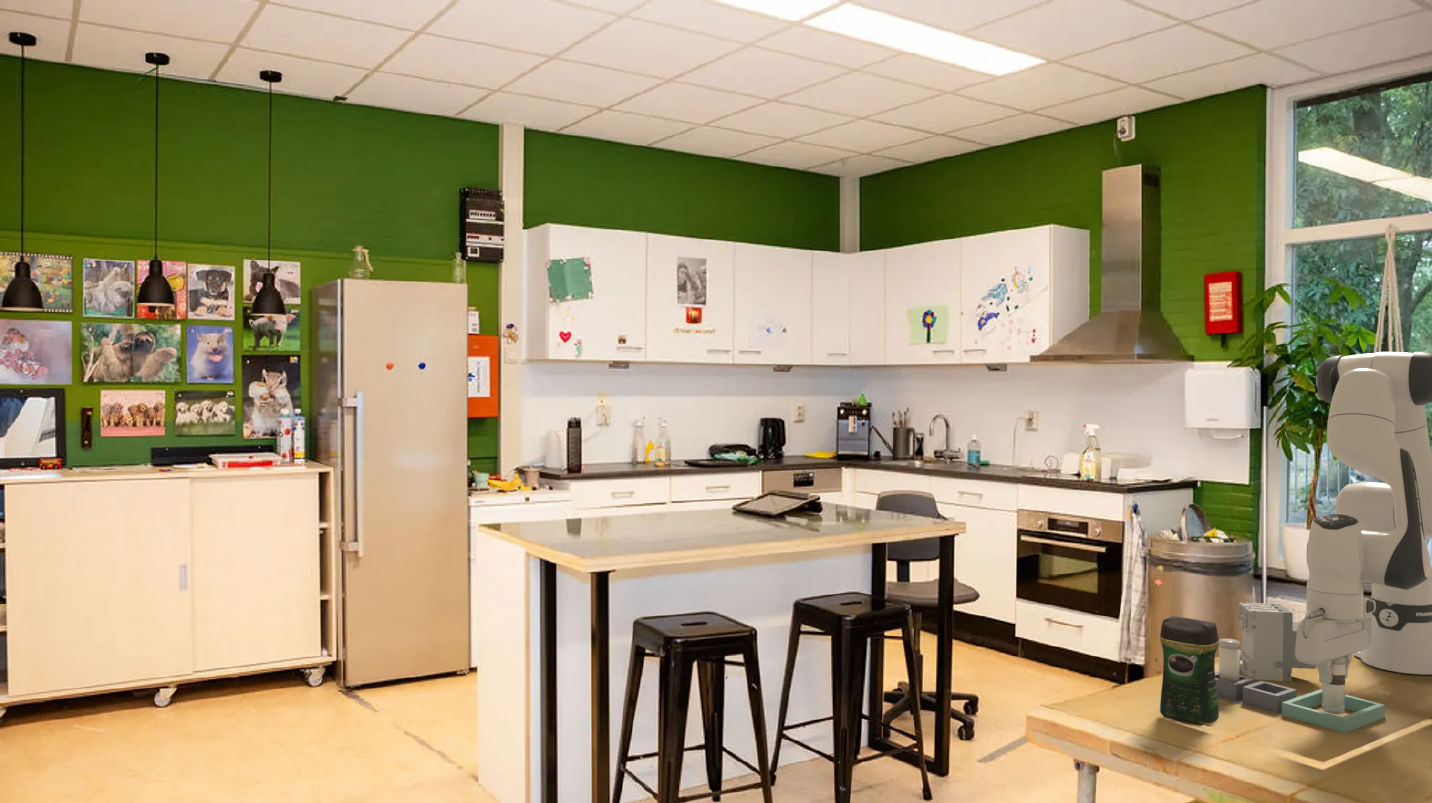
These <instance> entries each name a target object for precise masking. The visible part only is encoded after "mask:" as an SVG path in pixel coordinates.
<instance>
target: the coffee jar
mask: <svg viewBox="0 0 1432 803" xmlns="http://www.w3.org/2000/svg"><path fill="white" fill-rule="evenodd" d="M1217 628H1218V627H1217V624H1216V623H1215V622H1212V621H1205V620H1201V619H1195V618H1189V617H1182V616H1181V617H1180V616H1174V615H1172V616H1169V617H1166V618H1164V619H1163V620H1162V622H1161V627H1160V634H1159V641H1160V645H1161V647H1162V652H1163V653H1162V655H1163V656H1162V657H1163V668H1162V669H1163V670H1162V671H1163V672H1162V681H1161V690H1160V692H1161V693H1160V701H1159V713H1160V714H1161V715H1162V716H1163V717H1164V718H1166V719H1169V720H1172V721H1176V722H1181V723H1184V724H1190V725H1195V726H1205V724H1207V723H1208V724H1209V723H1213V722H1215V721H1217V720H1218V719H1219V717H1220V716H1219V715H1220V711H1219V710H1220V709H1219V700H1218V699H1219V698H1217V690H1216V680H1215V673H1216V670H1215V662H1216V661H1215V658H1216V652H1217V650H1218V649H1219V640H1220V639H1219V635H1218V634H1219V633H1218V629H1217Z"/></svg>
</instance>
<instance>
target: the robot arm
mask: <svg viewBox="0 0 1432 803" xmlns="http://www.w3.org/2000/svg"><path fill="white" fill-rule="evenodd" d="M1318 366H1319V367H1318V369H1317V374H1316V378H1315V379H1316V380H1315V382H1316V388H1317V393H1318V395H1319V397H1320V398H1321V399H1322V400H1323V401H1324V402H1325V403H1327V404H1328V405H1330V408H1329V411H1328V417H1327V418H1328V419H1327V426H1326V442H1327V443H1326V444H1327V447H1328V450H1329V451H1330V453H1331V454H1332V455H1333V456H1334V457H1335V458H1336V459H1337V460H1338V461H1339V462H1341V463H1342V464H1344V465H1345V466H1347V467H1349V468H1351V469H1353V470H1355V471H1357V472H1360V473H1363V474H1366V475H1367V476H1371V477H1373V478H1376V479H1378V480H1380V481H1382V482H1376V481H1366V482H1355V483H1348V484H1346V485H1345V486H1343V488H1342V489H1341V490H1340V491H1339V493H1337V494H1338V495H1337V496H1336V499H1335V511H1336V513H1330V514H1329V513H1328V514H1322V515H1319V516H1316V517H1315V518H1313V519H1312V521H1311V522H1310V523H1311V525H1310V527H1309V528H1310V529H1309V533H1308V541H1307V543H1306V564H1307V568H1308V573H1309V576H1308V580H1307V583H1306V605H1305V606H1306V613H1305V616H1304V617H1303V618H1302V620H1301V621H1299V622H1300V623H1299V625H1298V629H1297V636H1296V646H1295V656H1296V659H1297V660H1298V661H1299V662H1302V663H1306V664H1310V665H1316V669H1317V671H1318V676H1319V678H1318V679H1319V680H1318V682H1320V683H1321V684H1322V683H1324V684H1330V683H1332V682H1333V676H1334V674H1333V673H1331V671H1330V666H1331V660H1334V659H1338V658H1341V657H1344V656H1345V679H1347V678H1348V677H1349V676H1348V675H1349V668H1350V665H1351V663H1352V660H1353V655H1354V656H1355V657H1357V658H1359V659H1360V660H1361V661H1362V662H1363V663H1364V664H1366V665H1369V666H1370V667H1374V668H1376V669H1377V668H1378V669H1381V670H1384V671H1385V670H1386V671H1390V672H1395V673H1401V674H1410V675H1432V563H1431V557H1430V552H1429V549H1428V546H1427V542H1426V540H1429V539H1430V540H1432V450H1431V444H1430V443H1431V442H1430V438H1429V429H1428V420H1427V419H1428V418H1427V411H1426V407H1425V406H1426V405H1427V404H1428V405H1429V404H1431V403H1432V353H1430V352H1424V351H1414V352H1403V351H1402V352H1401V351H1377V352H1372V353H1371V352H1369V353H1359V354H1352V355H1351V354H1350V355H1344V354H1342V355H1341V354H1340V355H1335V356H1331V357H1328V358H1325V360H1324V361H1322V362H1321V364H1320V365H1318ZM1362 583H1367V584H1368V583H1369V584H1371V595H1370V596H1369V598H1368V597H1366V596H1364V587H1363V584H1362Z"/></svg>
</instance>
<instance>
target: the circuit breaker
mask: <svg viewBox="0 0 1432 803" xmlns="http://www.w3.org/2000/svg"><path fill="white" fill-rule="evenodd" d="M1293 619H1294V618H1293V612H1292V611H1290V610H1289V609H1287V607H1285V606H1283V605H1282V604H1280V603H1265V602H1264V603H1262V602H1239V603H1238V610H1237V624H1239V626H1240V629H1241V650H1240V661H1241V662H1242V663H1240V673H1241V674H1242V675H1243V676H1246V677H1250V678H1254V679H1255V681H1256V680H1259V681H1276V682H1277V681H1278V682H1292V681H1293V677H1292V674H1293V669H1308V670H1309V669H1311V670H1316V669H1317V667H1316V665H1310V664H1306V663H1302V662H1299V661H1298V660H1297V659H1296V656H1295V646H1296V636H1297V629H1298V625H1299V623H1300V621H1299V622H1298V621H1297V622H1296V621H1294V620H1293ZM1293 621H1294V622H1293Z"/></svg>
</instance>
